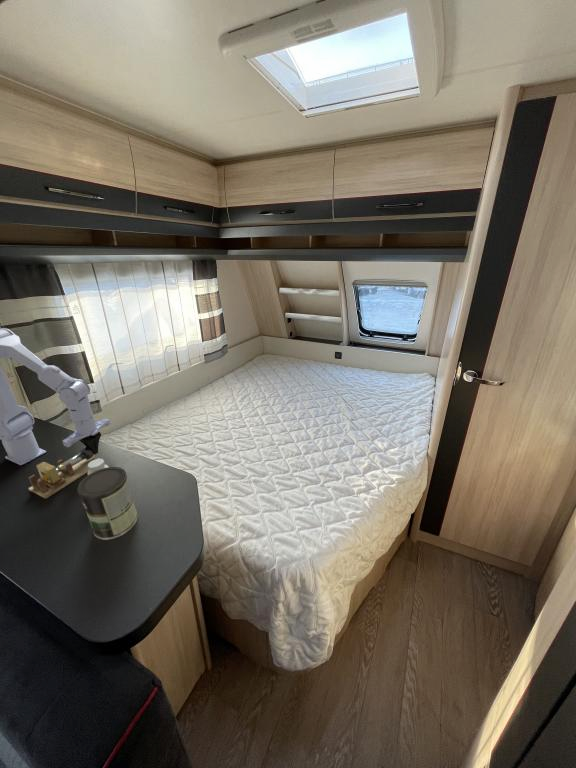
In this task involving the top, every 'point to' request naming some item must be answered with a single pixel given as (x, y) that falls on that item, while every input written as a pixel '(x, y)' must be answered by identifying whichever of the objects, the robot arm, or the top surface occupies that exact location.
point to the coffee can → (108, 502)
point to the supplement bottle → (96, 465)
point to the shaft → (76, 459)
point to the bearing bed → (66, 478)
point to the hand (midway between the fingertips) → (94, 452)
